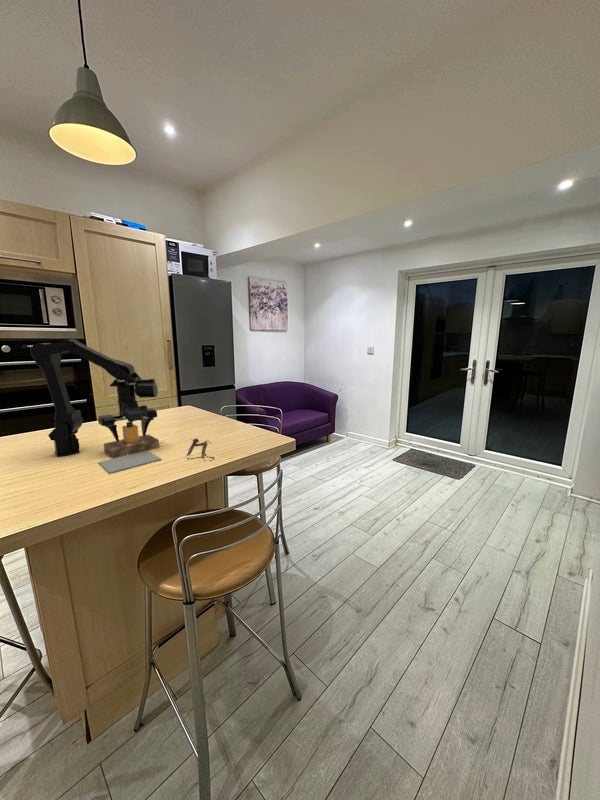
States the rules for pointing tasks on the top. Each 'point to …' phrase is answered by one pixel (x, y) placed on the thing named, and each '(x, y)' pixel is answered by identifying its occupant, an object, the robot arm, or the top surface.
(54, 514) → the top surface
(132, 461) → the mat
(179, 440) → the top surface
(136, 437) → the plug
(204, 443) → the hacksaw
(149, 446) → the socket block
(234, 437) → the top surface
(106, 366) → the robot arm
